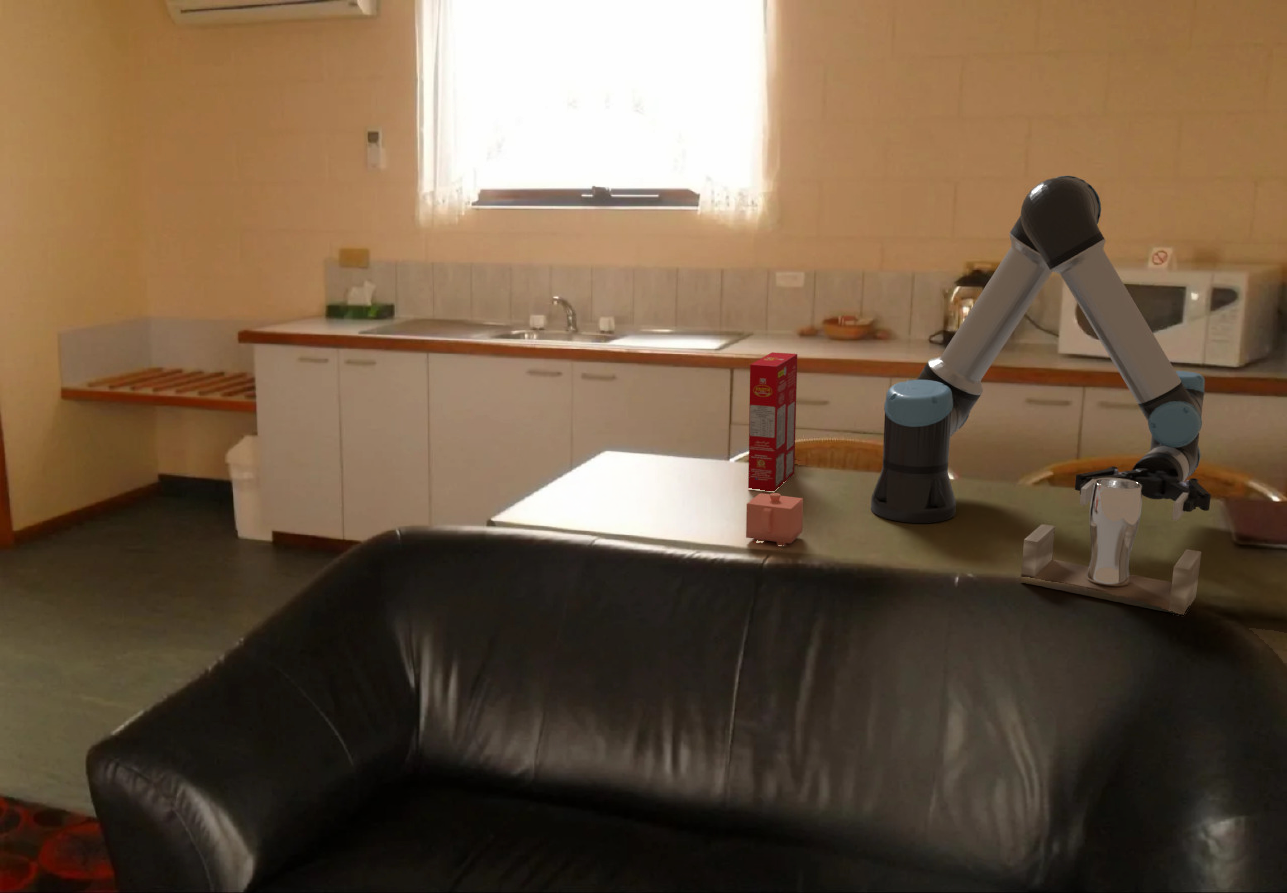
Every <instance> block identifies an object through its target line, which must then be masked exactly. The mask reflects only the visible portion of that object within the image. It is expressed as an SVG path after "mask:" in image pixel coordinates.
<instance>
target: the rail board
mask: <svg viewBox="0 0 1287 893" xmlns="http://www.w3.org/2000/svg"><path fill="white" fill-rule="evenodd" d="M1055 528H1056V526H1054V525H1050V524H1044V523H1043V524H1042V523H1041V524H1040V525H1039V526H1038V527H1037V528H1035V530H1033V531H1032V532H1031V533H1030V534H1028V535H1027V536H1026V538H1024V539H1023V549H1022V550H1023V551H1022V562H1021V573H1020V576H1021V577H1030V578H1035V579H1041V580H1045V581H1051V582H1059V583H1065V584H1069V585H1073V586H1078V587H1086V588H1087V589H1092V590H1093V589H1094V590H1096V591H1100V592H1105V593H1109V594H1112V595H1116V596H1124V597H1127V598H1128V597H1129V598H1131V599H1132V598H1133V599H1135V600H1138V601H1139V600H1140V601H1144V602H1146V603H1148V604H1150V605H1152V606H1153V605H1154V606H1157V607H1158V606H1159V607H1161V608H1162V609H1166V610H1168V611H1173V612H1175V613H1178V614H1183V615H1184V613H1185V611H1186V609H1187V607H1188V606H1189V605H1190V606H1192V604H1193V602H1194V601H1195V600H1196V597H1197V591H1198V583H1199V575H1200V566H1201V558H1202V551H1199V550H1193V549H1187V548H1186V549H1185V551H1184V552H1183V553H1182V555H1181V557H1179V559H1178V560H1177V562H1176V563H1175V565H1174V566H1173V571H1172V577H1171V578H1172V581H1168V580H1162V579H1157V578H1151V577H1146V576H1141V575H1136V574H1131V573H1129V574H1130V582H1129V584H1128V585H1125V586H1118V587H1114V586H1105V585H1100V584H1096V583H1093V582H1091V581H1089V580H1088V579H1087V578H1086V574H1087V570H1088V567H1089V565H1082V564H1077V563H1073V562H1068V561H1061V560H1058V559H1053V552H1054V540H1055ZM1021 577H1020V578H1021ZM1185 614H1186V613H1185ZM1184 616H1185V615H1184Z"/></svg>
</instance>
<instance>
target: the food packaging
mask: <svg viewBox="0 0 1287 893" xmlns="http://www.w3.org/2000/svg"><path fill="white" fill-rule="evenodd" d="M797 378H798V353H788V352H787V353H786V352H770V353H768V354H767V355H765V356H763V357H761V358H759V359H758V360H756V361H754V362H752V363H750V364H749V405H748V406H749V414H748V416H749V419H748V420H749V423H748V426H749V427H748V476H747V477H748V482H747V483H748V486H747V488H752V489H760V490H765V491H775V490H776V489H777V488H778V487H780V486H781V485H782V484H783V482H785V481H786V480H787V479H788V478H789V477H791V476H792V475H793V474H794V475H795V465H796V463H795V462H796V431H797V430H796V425H797V424H796V423H797V421H796V420H797V391H798V390H797V389H798V388H797V384H798V383H797V382H798V381H797V380H798V379H797ZM794 475H793V476H794ZM793 476H792V477H793ZM792 477H791V478H792ZM787 481H788V480H787ZM787 481H786V482H787ZM786 482H785V483H786ZM783 485H784V484H783ZM783 485H782V486H783ZM782 486H781V487H782ZM781 487H780V488H781Z"/></svg>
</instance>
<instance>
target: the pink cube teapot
mask: <svg viewBox="0 0 1287 893" xmlns="http://www.w3.org/2000/svg"><path fill="white" fill-rule="evenodd" d="M803 510H804V498H803V497H794V496H786V495H781V494H780V493H778V492H775V493H770V494H769V493H763V492H760V493H758V494H757V495H756V496H754V497H753V498H752V499H750V500H749V502H747V503H746V516H745V517H746V519H745V521H746V524H745V525H746V526H745V530H746V531H745V538H747V539H753V540H758V541H764V540H765V541H768V542H776V545H777V544H778V545H782V546H783V545H787V544H792V543H793V542H794V541H795V540H796V539H797V538H798V536H800V535H801V534H802V533H803V514H804V512H803ZM765 541H764V542H765Z"/></svg>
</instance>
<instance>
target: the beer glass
mask: <svg viewBox="0 0 1287 893" xmlns="http://www.w3.org/2000/svg"><path fill="white" fill-rule="evenodd" d="M1142 497H1143V495H1142V485H1141V484H1140V483H1138V482H1136V481H1132V480H1128V479H1122V478H1099V479H1096V480H1095V481H1094V487H1093V492H1092V497H1091V500H1090V504H1089V505H1090V506H1089V531H1090V533H1089V534H1090V545H1091V546H1090V547H1091V552H1090V561H1089V565H1088V566H1089V567H1088V570H1087V574H1086V578H1087V579H1088V580H1089V581H1091V582H1093V583H1096V584H1100V585H1105V586H1114V587H1118V586H1125V585H1128V584H1129V582H1130V574H1131V573H1130V568H1129V567H1130V557H1131V553H1132V549H1133V546H1134V542H1135V539H1136V537H1137V532H1138V530H1139V526H1140V520H1141V513H1142V501H1143V498H1142Z"/></svg>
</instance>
